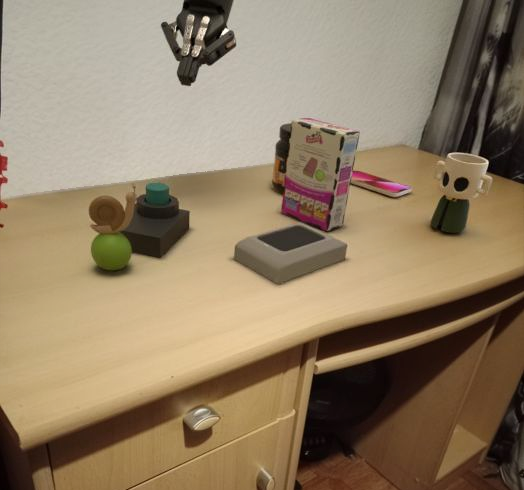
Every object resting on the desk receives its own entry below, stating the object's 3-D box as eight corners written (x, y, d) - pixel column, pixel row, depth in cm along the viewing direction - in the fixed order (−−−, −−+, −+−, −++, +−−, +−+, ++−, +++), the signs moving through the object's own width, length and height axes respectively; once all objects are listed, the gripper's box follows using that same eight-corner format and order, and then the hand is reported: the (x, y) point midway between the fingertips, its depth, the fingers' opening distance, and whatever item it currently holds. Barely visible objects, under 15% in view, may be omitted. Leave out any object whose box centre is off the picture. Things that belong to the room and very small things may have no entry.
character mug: (411, 222, 102) (429, 152, 95) (432, 215, 106) (451, 147, 99) (462, 243, 96) (486, 169, 88) (482, 235, 100) (506, 164, 93)
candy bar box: (344, 226, 97) (362, 131, 88) (327, 232, 94) (344, 134, 85) (296, 207, 103) (308, 115, 94) (279, 212, 100) (290, 118, 91)
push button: (151, 196, 88) (151, 181, 86) (172, 200, 87) (172, 185, 86) (142, 203, 85) (141, 187, 83) (163, 207, 84) (163, 191, 83)
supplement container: (260, 185, 111) (266, 124, 105) (297, 179, 117) (304, 120, 111) (295, 202, 105) (303, 138, 98) (332, 194, 111) (342, 133, 104)
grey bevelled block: (348, 237, 84) (280, 260, 75) (344, 259, 86) (277, 284, 77) (304, 217, 89) (235, 236, 80) (301, 237, 91) (233, 259, 82)
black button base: (141, 218, 92) (139, 188, 89) (191, 227, 91) (191, 198, 88) (104, 246, 82) (102, 214, 79) (160, 257, 80) (160, 226, 77)
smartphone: (356, 169, 124) (413, 187, 116) (355, 174, 125) (412, 192, 117) (337, 175, 119) (395, 194, 111) (336, 179, 120) (394, 198, 112)
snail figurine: (141, 275, 75) (138, 190, 68) (93, 278, 73) (85, 191, 66) (137, 258, 79) (134, 176, 72) (91, 260, 78) (83, 176, 71)
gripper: (168, -35, 86) (137, 59, 83) (247, -26, 84) (219, 71, 81) (180, 4, 94) (152, 92, 91) (253, 13, 92) (228, 103, 89)
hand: (184, 82), depth 86 cm, fingers closed
